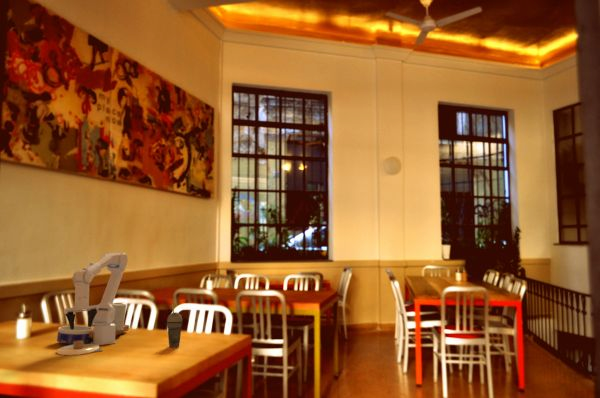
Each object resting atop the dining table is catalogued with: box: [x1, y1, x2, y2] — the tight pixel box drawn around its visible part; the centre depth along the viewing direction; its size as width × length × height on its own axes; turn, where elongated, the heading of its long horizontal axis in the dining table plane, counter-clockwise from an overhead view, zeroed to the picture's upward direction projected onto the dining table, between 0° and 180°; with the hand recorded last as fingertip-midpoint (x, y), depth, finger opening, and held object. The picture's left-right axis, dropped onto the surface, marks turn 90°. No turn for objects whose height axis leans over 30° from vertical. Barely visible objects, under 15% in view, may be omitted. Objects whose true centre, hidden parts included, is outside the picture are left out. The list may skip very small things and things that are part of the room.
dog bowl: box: [56, 325, 94, 345], centre depth 218 cm, size 15×15×6 cm
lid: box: [56, 340, 100, 356], centre depth 201 cm, size 17×17×4 cm
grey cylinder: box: [112, 302, 127, 330], centre depth 232 cm, size 10×10×12 cm
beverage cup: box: [166, 302, 183, 349], centre depth 211 cm, size 7×7×20 cm
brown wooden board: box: [87, 324, 130, 339], centre depth 231 cm, size 13×30×3 cm, turn 2°
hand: (80, 328), depth 202 cm, fingers open, 7 cm apart
